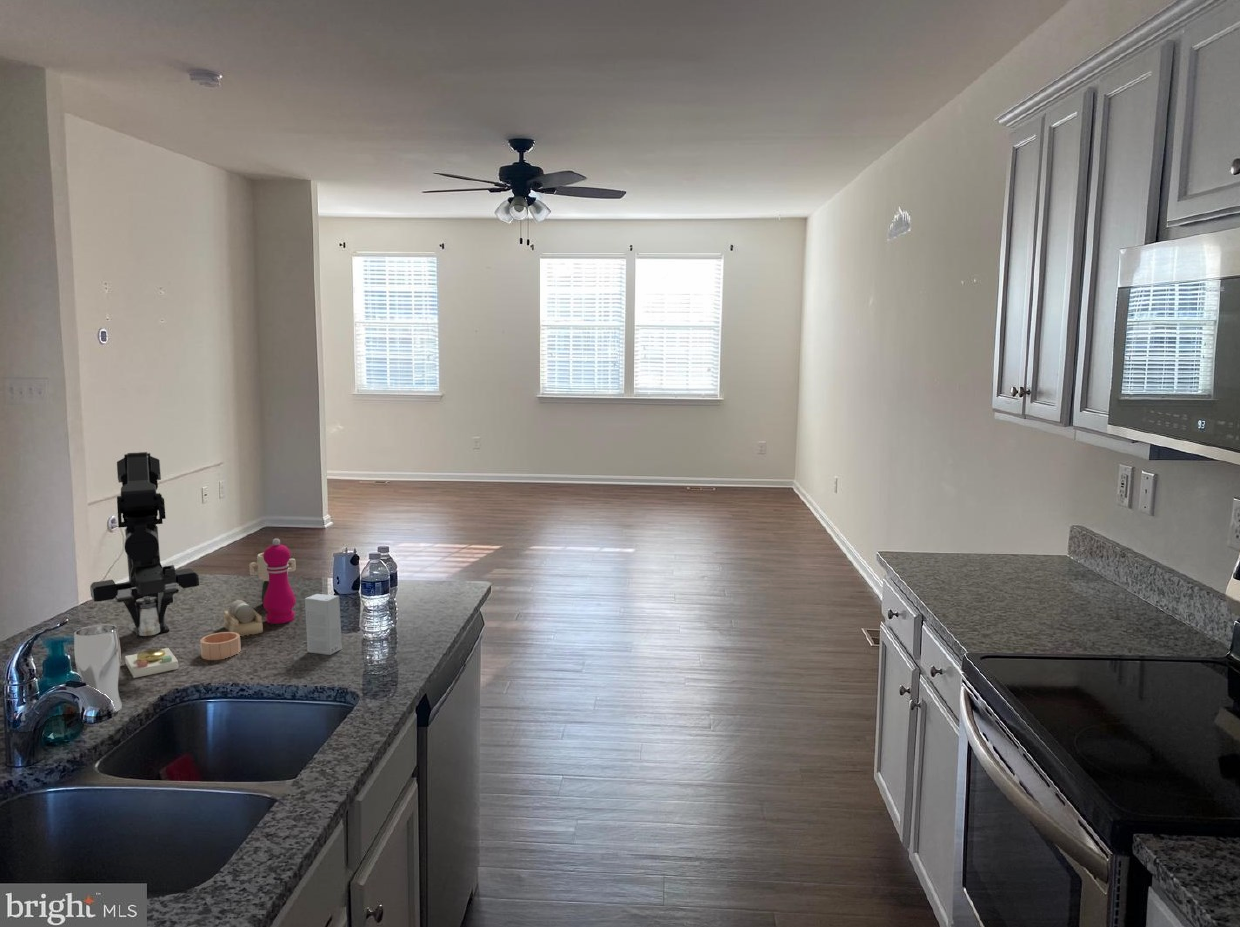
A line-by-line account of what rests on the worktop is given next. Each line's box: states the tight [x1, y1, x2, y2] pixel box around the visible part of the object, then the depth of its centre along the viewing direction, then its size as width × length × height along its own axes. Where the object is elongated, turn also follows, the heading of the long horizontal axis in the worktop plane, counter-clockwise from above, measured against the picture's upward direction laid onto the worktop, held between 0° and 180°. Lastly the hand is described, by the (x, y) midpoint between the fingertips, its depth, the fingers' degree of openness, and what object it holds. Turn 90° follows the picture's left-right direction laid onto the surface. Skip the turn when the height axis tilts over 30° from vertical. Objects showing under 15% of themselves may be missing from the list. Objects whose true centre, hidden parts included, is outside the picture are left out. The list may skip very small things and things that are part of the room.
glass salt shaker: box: [136, 596, 160, 637], centre depth 172 cm, size 4×4×8 cm
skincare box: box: [304, 593, 343, 656], centre depth 182 cm, size 6×4×12 cm
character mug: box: [248, 552, 297, 603], centre depth 216 cm, size 11×7×13 cm, turn 116°
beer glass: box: [73, 623, 123, 713], centre depth 151 cm, size 7×7×15 cm
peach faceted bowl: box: [199, 631, 242, 661], centre depth 181 cm, size 8×8×4 cm
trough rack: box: [223, 599, 264, 637], centre depth 196 cm, size 10×6×6 cm, turn 38°
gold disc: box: [137, 648, 165, 662], centre depth 173 cm, size 5×5×1 cm
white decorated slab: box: [124, 647, 180, 679], centre depth 174 cm, size 10×8×2 cm
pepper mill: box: [262, 538, 296, 625], centre depth 202 cm, size 7×7×20 cm
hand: (148, 625), depth 172 cm, fingers closed on glass salt shaker, 4 cm apart
